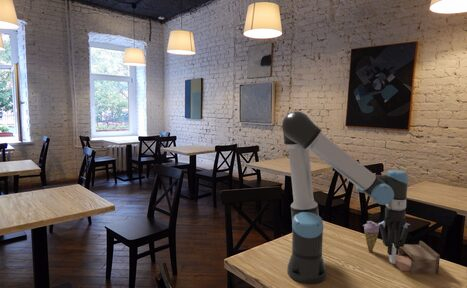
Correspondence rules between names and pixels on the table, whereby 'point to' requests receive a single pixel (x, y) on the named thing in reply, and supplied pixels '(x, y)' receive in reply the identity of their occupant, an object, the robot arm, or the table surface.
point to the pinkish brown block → (403, 263)
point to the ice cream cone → (371, 234)
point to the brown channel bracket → (421, 258)
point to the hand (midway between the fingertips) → (392, 261)
